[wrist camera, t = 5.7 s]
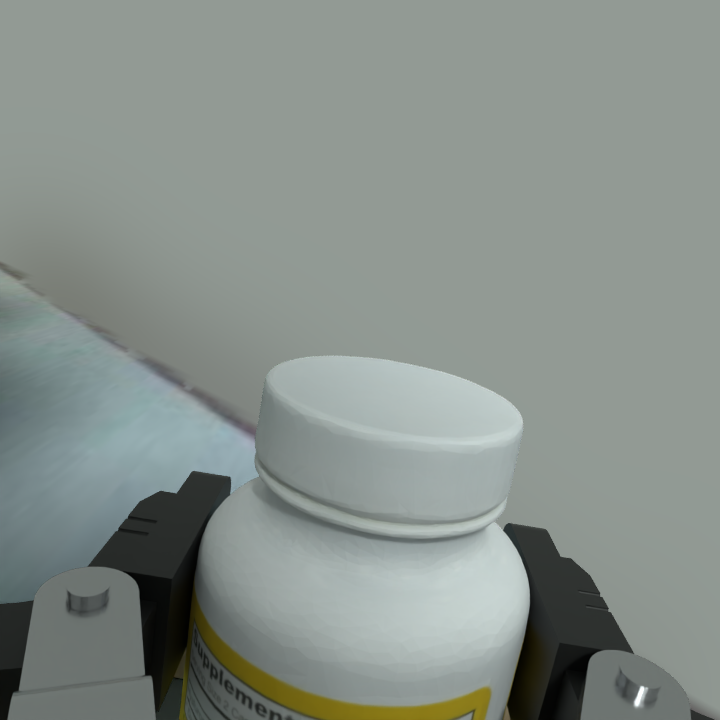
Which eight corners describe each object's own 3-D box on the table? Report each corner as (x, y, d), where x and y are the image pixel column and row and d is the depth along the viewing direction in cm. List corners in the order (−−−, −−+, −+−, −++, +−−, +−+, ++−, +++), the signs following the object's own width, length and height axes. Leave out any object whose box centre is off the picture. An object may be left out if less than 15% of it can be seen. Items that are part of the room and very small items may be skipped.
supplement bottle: (303, 716, 16) (371, 334, 13) (497, 882, 13) (630, 421, 10) (96, 870, 12) (143, 354, 9) (309, 1180, 8) (463, 511, 6)
